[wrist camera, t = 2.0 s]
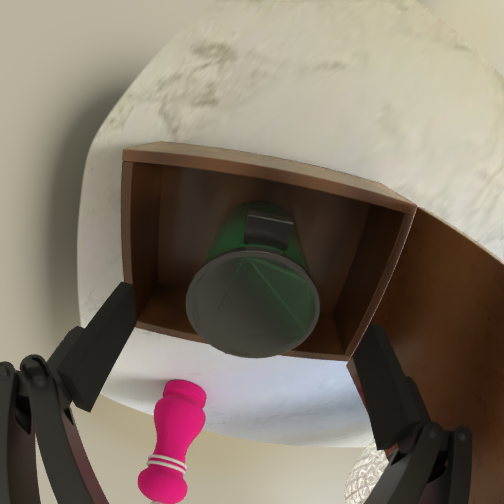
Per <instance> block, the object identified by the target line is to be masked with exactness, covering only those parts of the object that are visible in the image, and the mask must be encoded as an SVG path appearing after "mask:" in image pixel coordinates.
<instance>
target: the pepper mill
mask: <svg viewBox="0 0 504 504" xmlns="http://www.w3.org/2000/svg"><path fill="white" fill-rule="evenodd" d="M163 397H164V398H162V399H160V400H159V401H158V402H157V403H156V405H155V409H154V422H155V427H156V431H157V443H156V448H155V450H154V453H153V455H149V456H148V459H149V460H148V461H147V465H148V466H149V467H148V468H147V469H145V470H143V471H142V472H141V473H140V474H139V476H138V487H139V489H140V491H141V492H142V493H143V494H144V495H145V496H146V497H147V498H149V499H151V500H153V501H152V502H151V503H150V504H175V503H178V502H180V501H181V500H183V499H184V497H185V496H186V493H187V484H186V482H185V481H184V479H183V476H185V475H186V469H187V466H186V465H185V455H186V452H187V449H188V447H189V445H190V444H191V442H192V441H193V440H194V439H195V438H196V436H197V435H198V434H199V433H200V431H201V430H202V428H203V426H204V423H205V413H204V411H203V410H202V408H203V407H204V406H205V401H206V393H205V391H204V390H203V389H202V388H201V387H199V386H198V385H196V384H194V383H191V382H188V381H184V380H173V381H170V382H168V383H167V384H166V386H165V389H164V392H163Z"/></svg>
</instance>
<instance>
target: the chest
mask: <svg viewBox="0 0 504 504" xmlns="http://www.w3.org/2000/svg"><path fill="white" fill-rule="evenodd" d="M252 201H263V202H268V203H272V204H274V205H277V206H279V207H280V208H282V209H283V210H285V211H286V212H287V213H288V214H289V215H290V216H291V217H292V219H293V220H294V222H295V224H296V226H297V228H298V232H299V235H300V239H301V242H302V246H303V249H304V253H305V257H306V260H307V264H308V268H309V271H310V274H311V275H312V277H313V279H314V281H315V283H316V285H317V288H318V291H319V295H320V301H321V310H320V316H319V319H318V322H317V324H316V326H315V328H314V330H313V331H312V333H311V334H310V335H309V336H308V337H307V338H306V340H304V341H303V342H302V343H301V344H300V345H298V346H297V347H295V348H293V349H291V350H290V351H288V352H285V353H282V354H280V355H282V356H291V357H300V358H310V359H322V360H336V361H349V359H350V358H351V355H352V354H353V352H354V350H355V349H356V347H357V345H358V343H359V341H360V339H361V338H362V336H363V334H364V332H365V330H366V328H367V326H368V324H369V322H370V320H371V318H372V316H373V314H374V312H375V310H376V308H377V306H378V304H379V302H380V300H381V298H382V296H383V293H384V291H385V289H386V287H387V285H388V282H389V280H390V278H391V275H392V273H393V271H394V268H395V266H396V263H397V261H398V258H399V256H400V253H401V251H402V248H403V246H404V243H405V240H406V238H407V235H408V232H409V229H410V226H411V223H412V221H413V218H414V217H413V216H414V215H415V212H416V209H417V205H416V204H414V203H413V202H411V201H409V200H408V199H406V198H405V197H403V196H401V195H400V194H398V193H396V192H395V191H393V190H391V189H390V188H388V187H386V186H384V185H383V184H381V183H378V182H374V181H371V180H367V179H364V178H360V177H357V176H353V175H350V174H346V173H342V172H338V171H334V170H330V169H326V168H322V167H318V166H314V165H309V164H305V163H300V162H296V161H291V160H286V159H281V158H276V157H271V156H266V155H260V154H254V153H249V152H243V151H236V150H230V149H223V148H216V147H208V146H200V145H191V144H182V143H171V142H156V143H151V144H146V145H141V146H136V147H132V148H127V149H124V150H123V162H122V181H121V240H122V260H123V274H124V282H125V283H129V284H133V285H134V298H135V309H136V319H137V324H136V326H135V327H136V328H140V329H144V330H148V331H152V332H156V333H160V334H164V335H168V336H173V337H177V338H182V339H186V340H191V341H196V342H201V343H206V344H209V343H207V342H206V341H205V340H204V339H202V338H201V336H200V335H199V334H198V333H197V332H196V331H195V329H194V328H193V326H192V324H191V322H190V320H189V318H188V315H187V311H186V293H187V289H188V286H189V284H190V282H191V280H192V278H193V276H194V274H195V273H196V271H197V270H198V269H199V268H200V267H201V265H202V263H203V261H204V258H205V256H206V254H207V252H208V249H209V247H210V245H211V243H212V240H213V238H214V236H215V234H216V231H217V229H218V227H219V225H220V223H221V221H222V219H223V218H224V217H225V215H226V214H227V213H228V212H229V211H231V210H232V209H233V208H235V207H236V206H238V205H241V204H243V203H247V202H252Z"/></svg>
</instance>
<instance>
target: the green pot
mask: <svg viewBox="0 0 504 504" xmlns="http://www.w3.org/2000/svg"><path fill="white" fill-rule="evenodd" d="M320 310H321V301H320V295H319V291H318V288H317V285H316V283H315V281H314V279H313V277H312V275H311V274H310V271H309V268H308V264H307V260H306V257H305V253H304V249H303V246H302V242H301V239H300V235H299V232H298V228H297V226H296V224H295V222H294V220H293V219H292V217H291V216H290V215H289V214H288V213H287V212H286V211H285V210H283V209H282V208H280V207H279V206H277V205H274V204H272V203H268V202H263V201H252V202H247V203H243V204H241V205H238V206H236V207H235V208H233V209H232V210H231V211H229V212H228V213H227V214H226V215H225V217H224V218H223V219H222V221H221V223H220V225H219V227H218V229H217V231H216V234H215V236H214V238H213V240H212V243H211V245H210V247H209V249H208V252H207V254H206V256H205V258H204V261H203V263H202V265H201V267H200V268H199V269H198V270H197V271H196V273H195V274H194V276H193V278H192V280H191V282H190V284H189V286H188V289H187V293H186V311H187V315H188V318H189V320H190V322H191V324H192V326H193V328H194V329H195V331H196V332H197V333H198V334H199V335H200V336H201V338H202V339H204V340H205V341H206V342H207V343H209V344H210V345H212V346H213V347H215V348H217V349H218V350H220V351H223V352H224V353H225V354H231V355H234V356H239V357H245V358H266V357H272V356H276V355H280V354H282V353H285V352H288V351H290V350H291V349H293V348H295V347H297V346H298V345H300V344H301V343H302V342H303V341H304V340H306V338H307V337H308V336H309V335H310V334H311V333H312V331H313V330H314V328H315V326H316V324H317V322H318V319H319V316H320Z"/></svg>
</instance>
